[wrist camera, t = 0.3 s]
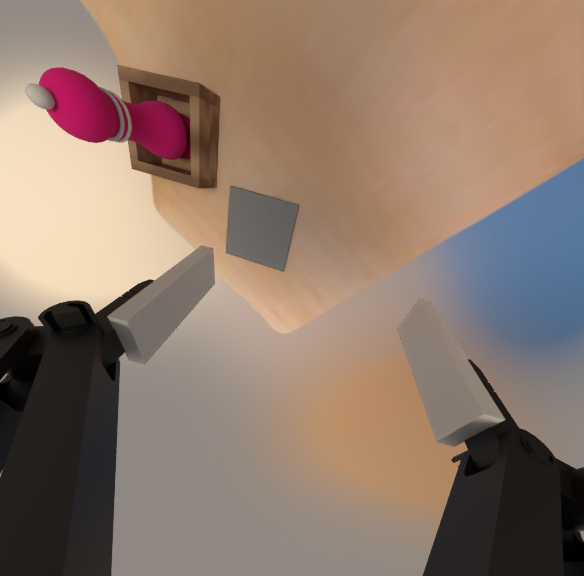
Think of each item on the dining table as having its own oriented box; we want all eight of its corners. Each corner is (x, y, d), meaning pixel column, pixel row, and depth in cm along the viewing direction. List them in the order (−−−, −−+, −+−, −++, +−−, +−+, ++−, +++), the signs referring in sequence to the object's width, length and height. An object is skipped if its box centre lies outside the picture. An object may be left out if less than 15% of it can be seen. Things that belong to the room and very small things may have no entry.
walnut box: (147, 80, 33) (117, 64, 29) (219, 97, 32) (199, 83, 27) (155, 170, 40) (131, 168, 35) (216, 187, 38) (199, 188, 34)
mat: (231, 186, 37) (230, 186, 37) (299, 205, 36) (298, 205, 35) (226, 252, 44) (225, 253, 43) (283, 270, 42) (283, 271, 42)
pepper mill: (209, 154, 36) (77, 126, 19) (177, 167, 38) (35, 152, 21) (191, 104, 33) (18, 14, 16) (159, 120, 35) (-24, 59, 18)
